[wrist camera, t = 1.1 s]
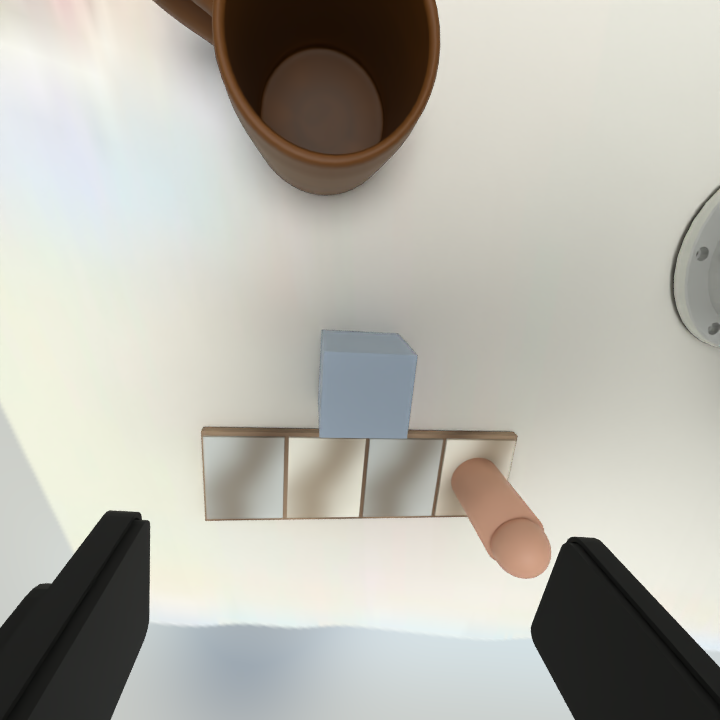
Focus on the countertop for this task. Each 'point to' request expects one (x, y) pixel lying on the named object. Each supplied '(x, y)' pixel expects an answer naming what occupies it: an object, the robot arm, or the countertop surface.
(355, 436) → the light blue cube
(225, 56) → the mug
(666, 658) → the robot arm
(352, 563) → the countertop surface
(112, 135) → the countertop surface
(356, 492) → the track
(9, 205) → the countertop surface
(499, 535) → the pawn
